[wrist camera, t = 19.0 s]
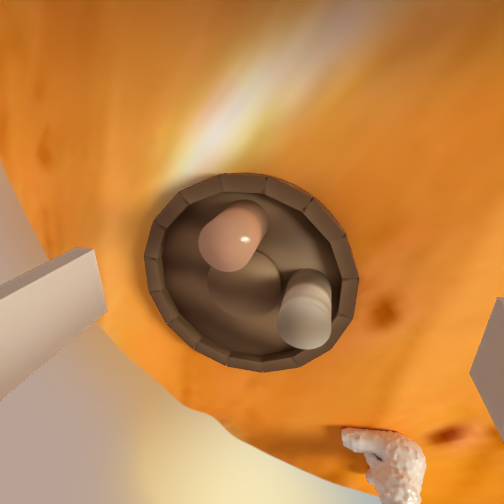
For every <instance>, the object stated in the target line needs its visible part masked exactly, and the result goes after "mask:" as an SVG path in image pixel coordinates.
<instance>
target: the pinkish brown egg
mask: <svg viewBox="0 0 504 504" xmlns="http://www.w3.org/2000/svg"><path fill="white" fill-rule="evenodd" d="M267 229H268V216H267V214H266V212H265V210H264V209H263V207H262V206H261V205H259V204H258V203H256V202H254V201H252V200H247V199H243V200H238V201H236V202H234V203H232V204H231V205H230V206H229V207H227V208H226V209H225V210H224V211H223V212H221V213H220V214H219V215H218V216H216V217H215V218H214V219H213V220H212V221H210V222H209V223H208V224H207V225H205V226H204V228H203V229H202V230H201V232H200V235H199V240H198V244H199V250H200V253H201V255H202V257H203V258H204V260H205V261H206V262H207V263H208V264H209V265H210V266H212V267H213V268H215V269H217V270H220V271H224V272H233V271H237V270H240V269H242V268H243V267H244V266H245V265H246V264H247V263H248V262H249V260H250V259H251V257H252V255H253V254H254V252H255V250H256V249H257V247H258V245H259V244H260V242H261V240H262V239H263V237H264V235H265V233H266V232H267Z"/></svg>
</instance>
